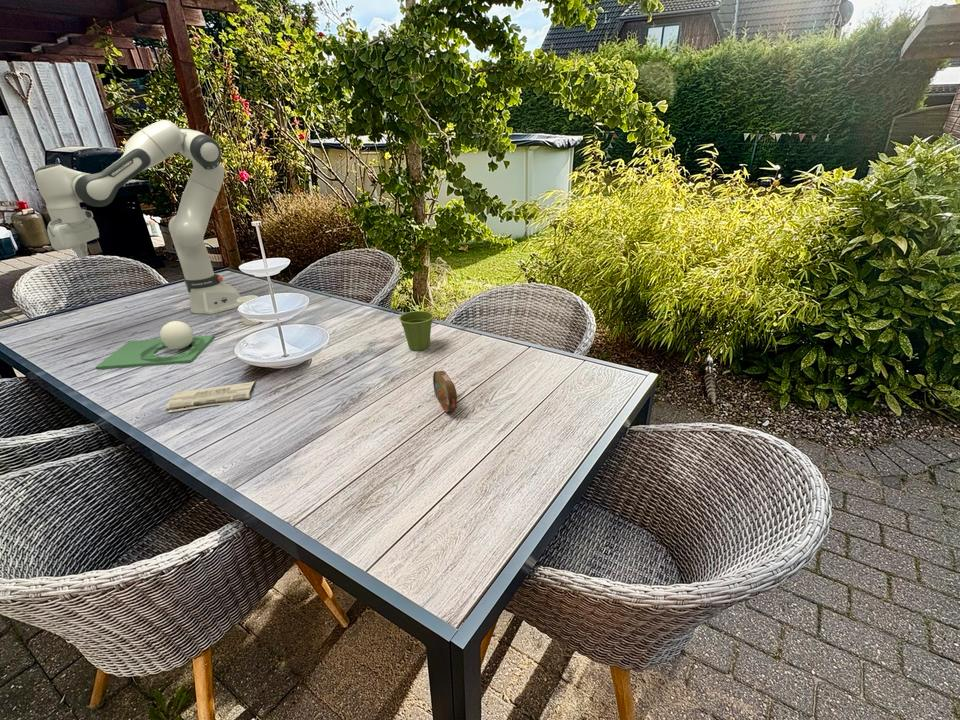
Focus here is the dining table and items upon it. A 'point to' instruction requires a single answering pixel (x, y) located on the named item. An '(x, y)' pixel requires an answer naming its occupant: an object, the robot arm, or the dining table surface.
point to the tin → (445, 391)
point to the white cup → (243, 300)
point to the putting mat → (152, 353)
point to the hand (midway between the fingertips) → (83, 257)
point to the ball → (176, 335)
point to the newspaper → (209, 396)
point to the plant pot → (417, 328)
